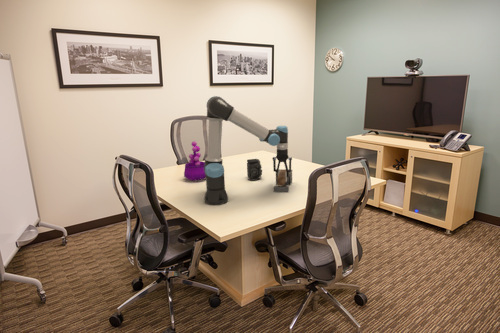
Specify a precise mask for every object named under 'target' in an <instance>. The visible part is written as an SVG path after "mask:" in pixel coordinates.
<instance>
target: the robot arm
mask: <svg viewBox="0 0 500 333" xmlns="http://www.w3.org/2000/svg"><path fill="white" fill-rule="evenodd" d="M206 118H207V120H208V132H207V134H208V136H207V156H206V157H205V158H204V162H205V165H204V172H205V176H206V178H205V185H206V191H205V195H204V198H203V199H204V203H205V204H206V205H210V206H219V205H223V204H227V202H228V201H229V196H228V193H227V191H226V183H225V182H226V181H225V167H224V165H223V158H222V157H221V155H222V154H221V151H222V136H223V134H222V133H223V121H225V122H230V123H232V124H234V125H236V126H237V127H239V128H241V129H243V130H244V131H246V132H248V133H250V134H251V135H253V136H255V137H257V138H258V139H259V141H260V142H263V143H264V142H265V143H267V144H268V145H270V146H272V147H275V146H276V156H273V157H272V161H273V162H272V163H273V172H275V178H276V177H278V175H279V172H278V170H279V169H280V164H281V163H283V164H284V167H285V169H286V173H285V182H287V177H288V173H289V172H291V170H292V160H293V157H292V156H291V157H290V156H289V154H288V153H289V149H288V148H289V146H288V145H289V142H288V138H289V135H288V134H289V129H288V127H287V125H277V126H276V128H275V129H268V128H266V127H264V126H263V125H261V124H260V123H258V122H257V121H255V120H253V119H251V118H249V117H248V116H247V115H244V114H243V113H241V112H239V111H238V110H236V109H235V107H234V106H232V105H231V104H230V103H228V102H227V101H226V100H225V99H224V98H222V97H220V96H215V95H214V96H212V97H209V99H207V102H206ZM276 161H278V162H276ZM287 161H288V163H287ZM276 163H277V164H276ZM276 166H277V167H276ZM276 169H277V170H276Z"/></svg>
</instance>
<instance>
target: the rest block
mask: <svg viewBox="0 0 500 333" xmlns="http://www.w3.org/2000/svg"><path fill="white" fill-rule="evenodd" d="M272 188H273V193H289V192H290V185H284V186H280V185H274V186H273V187H272Z"/></svg>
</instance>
